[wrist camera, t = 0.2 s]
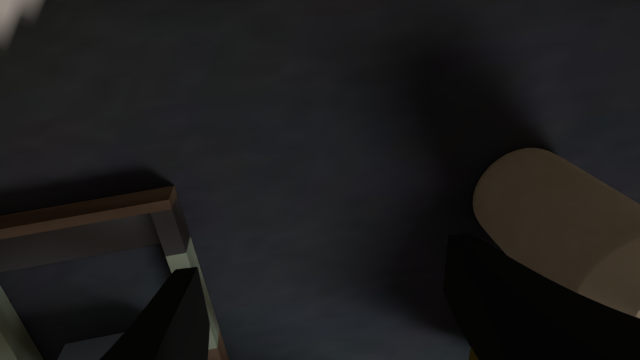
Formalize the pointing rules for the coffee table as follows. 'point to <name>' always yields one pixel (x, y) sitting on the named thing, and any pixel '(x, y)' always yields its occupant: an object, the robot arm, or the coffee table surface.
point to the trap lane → (94, 249)
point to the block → (88, 348)
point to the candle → (563, 225)
